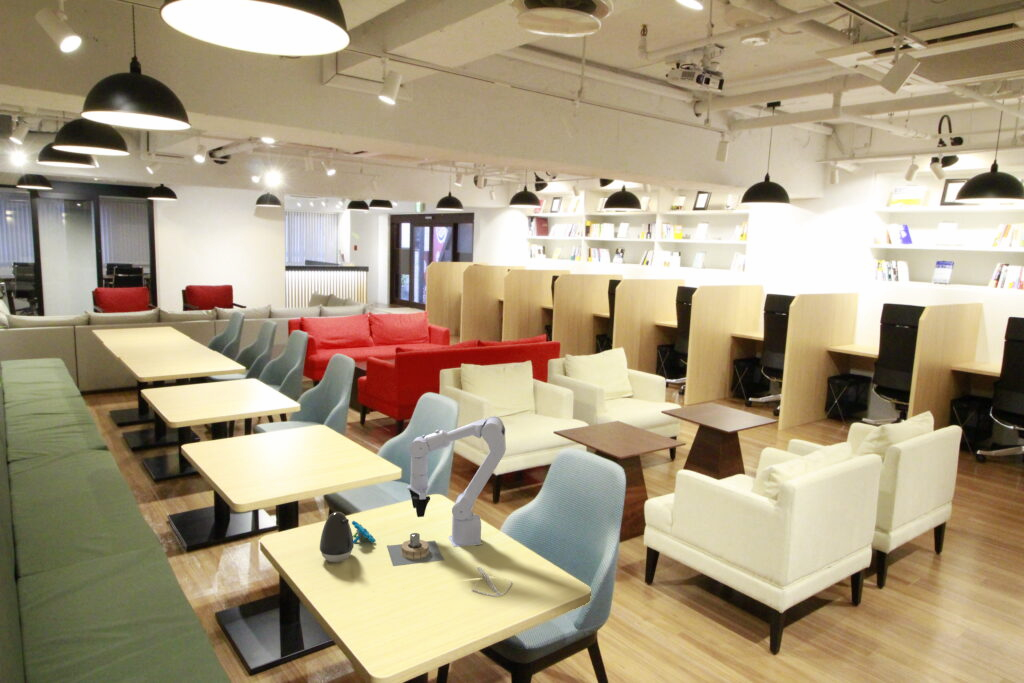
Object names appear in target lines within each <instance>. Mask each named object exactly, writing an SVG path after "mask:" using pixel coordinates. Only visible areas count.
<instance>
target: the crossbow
mask: <svg viewBox="0 0 1024 683" xmlns="http://www.w3.org/2000/svg"><path fill="white" fill-rule="evenodd" d="M477 570H478V571H479V573H480V574H481V577H480V578H479V580H478V581H477V582H476V584H478V583H479V582H480V580H481V579H482V578H483V579H484V581H485V582H486V583H487V585H489V587H490V588H491V590H492V591H493V593H494V594H491V593H486V592H483V591H481V590H477V589H474V588H476V585H474V586H473V587H472V588H471V592H473V593H474V592H475V593H477V594H480V595H485V596H490V597H496V596H498V597H501V595H502V596H504V595H505V594H506V593H508V591H509V590H510V588H511V587H512V584H513V580H509V579H504V578H500V577H499V576H495V575H493V574H492V575H491V574H487V573H486V572H485V571H484V569H483V567H482V566H478V567H477ZM489 576H491V577H494V578H499V579H501V580H504V581H508V582H510V584H509V585H508V587H507V588H506V590H505V591H504V592H502V593H500V591H499V589H498V588H497V586H495V584H494V583H493V581H492V580H491V579H490V577H489ZM510 586H511V587H510ZM508 589H509V590H508ZM495 593H496V594H495ZM503 594H504V595H503Z"/></svg>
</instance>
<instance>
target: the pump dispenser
mask: <svg viewBox="0 0 1024 683" xmlns="http://www.w3.org/2000/svg"><path fill="white" fill-rule="evenodd" d="M353 541H354V537H353V532H352V528H351V524H350V521H349V519H348V518H347V516H346V515H345V514H344V513H343V512H341V511H334V512H332V513H331V514H329V515H328V517H327V519H326V521H325V523H324V526H323V528H322V532H321V536H320V542H319V551H320V552H321V556H322V557H323V558H324V559H325V560H326V561H327V562H329V563H340V562H343V561H345V560H347V559H348V558H349V557H350V556H351V554H352V551H353V549H354V544H355V543H353Z"/></svg>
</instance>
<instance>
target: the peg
mask: <svg viewBox="0 0 1024 683" xmlns="http://www.w3.org/2000/svg"><path fill="white" fill-rule="evenodd" d="M420 538H421V536H420V534H419V533H418V532H412V533H411V534H409V540H410V548H413V549H416V548H420V540H421V539H420Z"/></svg>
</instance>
